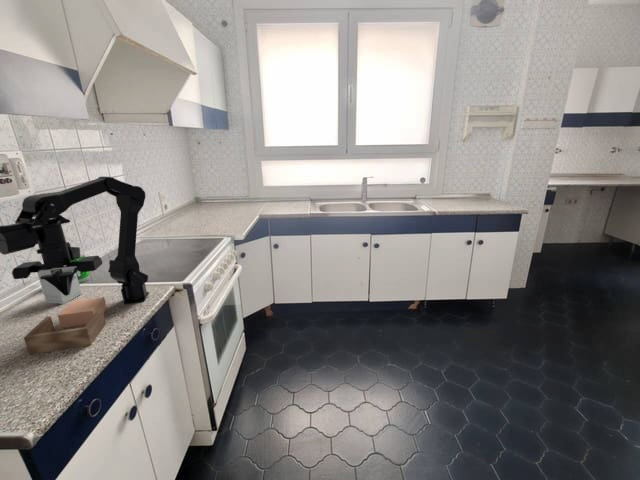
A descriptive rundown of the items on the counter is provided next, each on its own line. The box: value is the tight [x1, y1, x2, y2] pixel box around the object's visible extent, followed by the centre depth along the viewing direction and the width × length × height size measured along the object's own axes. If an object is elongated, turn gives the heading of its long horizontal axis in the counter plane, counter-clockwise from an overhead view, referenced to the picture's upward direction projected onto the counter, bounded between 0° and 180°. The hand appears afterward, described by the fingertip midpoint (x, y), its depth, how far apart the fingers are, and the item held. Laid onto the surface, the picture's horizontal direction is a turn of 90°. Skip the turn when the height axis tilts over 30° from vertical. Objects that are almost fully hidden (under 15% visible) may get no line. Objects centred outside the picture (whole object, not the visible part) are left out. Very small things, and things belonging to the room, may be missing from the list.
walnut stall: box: [23, 309, 107, 355], centre depth 86 cm, size 14×10×5 cm
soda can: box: [72, 250, 91, 284], centre depth 121 cm, size 8×8×12 cm
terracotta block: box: [57, 296, 108, 329], centre depth 96 cm, size 9×9×4 cm
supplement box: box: [36, 272, 83, 305], centre depth 107 cm, size 7×7×13 cm
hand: (67, 294), depth 87 cm, fingers closed
